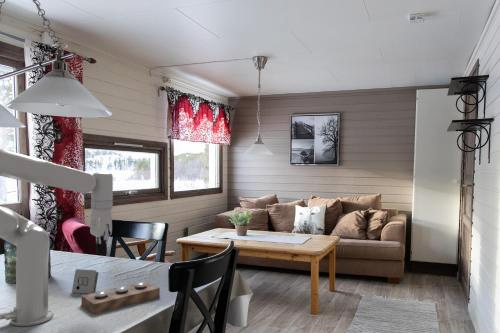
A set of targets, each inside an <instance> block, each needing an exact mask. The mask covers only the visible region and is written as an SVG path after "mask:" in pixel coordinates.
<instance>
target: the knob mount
mask: <svg viewBox="0 0 500 333" xmlns="http://www.w3.org/2000/svg"><path fill="white" fill-rule="evenodd" d="M143 282H146V288H143V289H136V288H135V283H132V284H126V285H125V286H126V287H128V292H126V293H122V294H118V293H116V288H117V287H114V288H109V289H105V290H104V291H107V292H108V296H107V297H106V298H101V299H97V298H95V293H96V292H93V293H91V294H88V293H86V294H83V295H81V297H80V298H81V304H80V305H81V306H82V307H83V308H84V309H87V310H88V311H89V312H91V313H92V314H93V315H96V313H97V314H101V313H104V312H106V311H107V312H108V311H111V310H115V309H119V308H122V307H126V306H130V305H133V304H138V303H141V302H145V301H149V300H153V299H156V298H160V295H161V291H160V289H161V288H160V287H158V286H156V285H155V284H152V283H149V282H148V281H143Z"/></svg>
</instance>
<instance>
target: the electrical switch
mask: <svg viewBox="0 0 500 333" xmlns="http://www.w3.org/2000/svg"><path fill="white" fill-rule="evenodd" d="M98 279H99V272H98V271H97V270H96V269H84V268H83V269H82V268H77V269H75V273H74V277H73V282H72V288H71V289H72V290H71V291H72V293H78V294H91V293H95V292H97V291H96V290H97V283H98Z"/></svg>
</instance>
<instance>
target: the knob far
mask: <svg viewBox="0 0 500 333" xmlns="http://www.w3.org/2000/svg"><path fill="white" fill-rule="evenodd" d="M146 282H147V281H145V282H144V281H140V282H139V281H138V282H136V283H134V284H135V288H136V289H143V288H146Z"/></svg>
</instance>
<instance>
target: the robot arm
mask: <svg viewBox="0 0 500 333" xmlns="http://www.w3.org/2000/svg"><path fill="white" fill-rule="evenodd" d="M0 177H4V178H9V179H13V180H18V181H22V182H25V183H30V184H35V185H39V186H46V187H47V186H48V187H54V188H57V189H63V190H66V191H72V192H75V193H80V194H89V193H90V196H91V198H90V210H91V214H90V223H89V224H90V226H89V227H90V229H89V233H90V234H91V235H92V236H94V237H95V244H96V248H95V249H96V255H98V256H101V255H106V254H107V251H108V250H107V249H108V248H107V247H108V246H107V244H108V240H110V236H111V235H112V233H113V223H112V222H113V219H112V218H113V217H112V215H113V214H112V210H113V204H114V203H113V198H114V196H113V194H114V192H113V190H114V189H113V188H114V187H113V186H114V184H113V183H114V180H113V179H114V178H113V177H114V176H113V174H112V173H111V172H105V171H103V172H94V173H93V172H89V171H84V170H80V169H78V168H77V169H76V168H71V167H68V166H65V165H61V164H57V163H54V162H50V161H48V160H44V159H41V158H38V157H37V158H36V157H33V156H29V155H24V154H21V153H18V152H13V151H11V150H6V149H2V148H0ZM0 239H2V240H4V241H5V242H8V243H10V244H11V245H14V246H16V260H15V290H16V291H15V294H16V295H15V306H14V307H13V309H11V310H9V311H8V312H1V313H0V321H2V320H5V321H9V320H10V324H12V325H13V326H17V327H30V326H35V325H39V324H40V325H41V324H42V323H46V322H48V321H49V320H51V319H52V318H53V317H54V312H53V310H52V309H49V253H50V241H51V240H50V237H49V234H48V232H47V231H46V230H45V229H44V228H43V227H41V226H40V225H38V224H37V223H35V222H33V221H31V220H30V219H28V218H26V217H24V216H23V215H21V214H19V213H17V212H15V210H14V211H13V210H12V209H10V208H9V207H5V206H1V205H0Z"/></svg>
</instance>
